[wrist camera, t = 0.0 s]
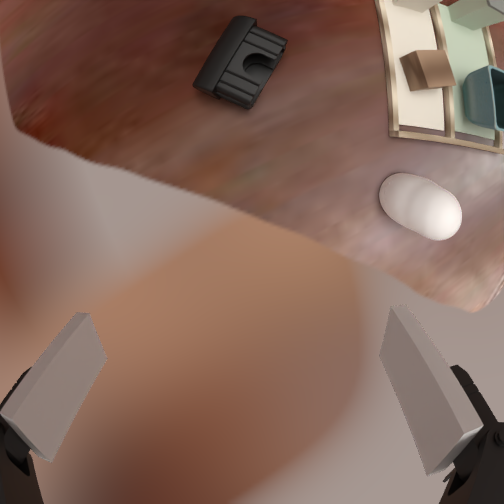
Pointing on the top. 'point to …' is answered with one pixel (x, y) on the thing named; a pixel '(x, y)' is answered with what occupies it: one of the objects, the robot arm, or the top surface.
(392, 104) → the lane frame
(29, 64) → the top surface
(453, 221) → the figurine
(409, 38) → the cream strip
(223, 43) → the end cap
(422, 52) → the walnut block
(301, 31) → the top surface
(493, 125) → the flower pot
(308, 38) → the top surface
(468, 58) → the sage strip
